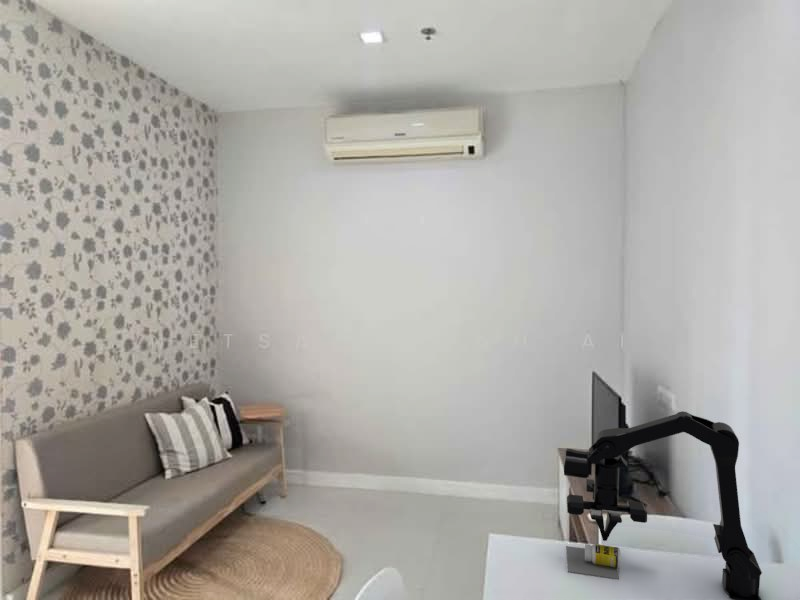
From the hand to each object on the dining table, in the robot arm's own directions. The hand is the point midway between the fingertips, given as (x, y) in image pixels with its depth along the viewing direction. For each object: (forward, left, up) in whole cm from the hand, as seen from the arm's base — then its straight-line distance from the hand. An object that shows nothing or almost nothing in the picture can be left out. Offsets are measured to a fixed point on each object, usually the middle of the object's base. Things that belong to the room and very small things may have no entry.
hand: (604, 540), depth 138 cm
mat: (+3, 0, -6) cm, 7 cm away
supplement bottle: (-4, +1, -4) cm, 5 cm away
